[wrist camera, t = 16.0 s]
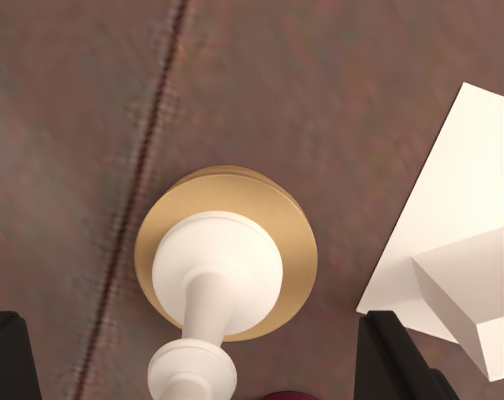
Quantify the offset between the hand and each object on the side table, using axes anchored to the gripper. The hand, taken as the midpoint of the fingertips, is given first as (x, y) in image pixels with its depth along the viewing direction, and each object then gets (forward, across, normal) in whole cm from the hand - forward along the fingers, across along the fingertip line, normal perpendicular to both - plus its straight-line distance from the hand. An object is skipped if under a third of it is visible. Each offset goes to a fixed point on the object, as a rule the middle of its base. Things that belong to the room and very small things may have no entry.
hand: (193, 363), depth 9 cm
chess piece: (+5, 0, 0) cm, 5 cm away
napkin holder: (+8, -15, +1) cm, 17 cm away
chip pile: (+8, 0, 0) cm, 8 cm away
